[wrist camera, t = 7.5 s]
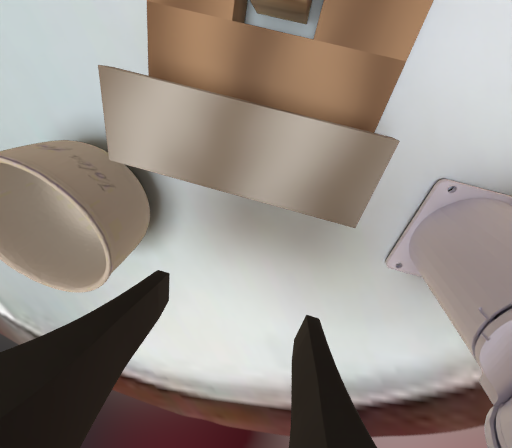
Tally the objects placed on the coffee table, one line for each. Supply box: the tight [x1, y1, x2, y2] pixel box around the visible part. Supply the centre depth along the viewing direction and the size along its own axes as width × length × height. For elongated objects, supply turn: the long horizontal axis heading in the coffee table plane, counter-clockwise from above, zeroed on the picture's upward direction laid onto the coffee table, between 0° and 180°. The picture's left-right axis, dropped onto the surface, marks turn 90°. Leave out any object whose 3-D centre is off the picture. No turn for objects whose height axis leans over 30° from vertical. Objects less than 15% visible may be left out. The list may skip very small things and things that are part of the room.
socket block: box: [98, 0, 433, 228], centre depth 12 cm, size 14×13×6 cm
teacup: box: [0, 140, 150, 292], centre depth 19 cm, size 14×11×8 cm
